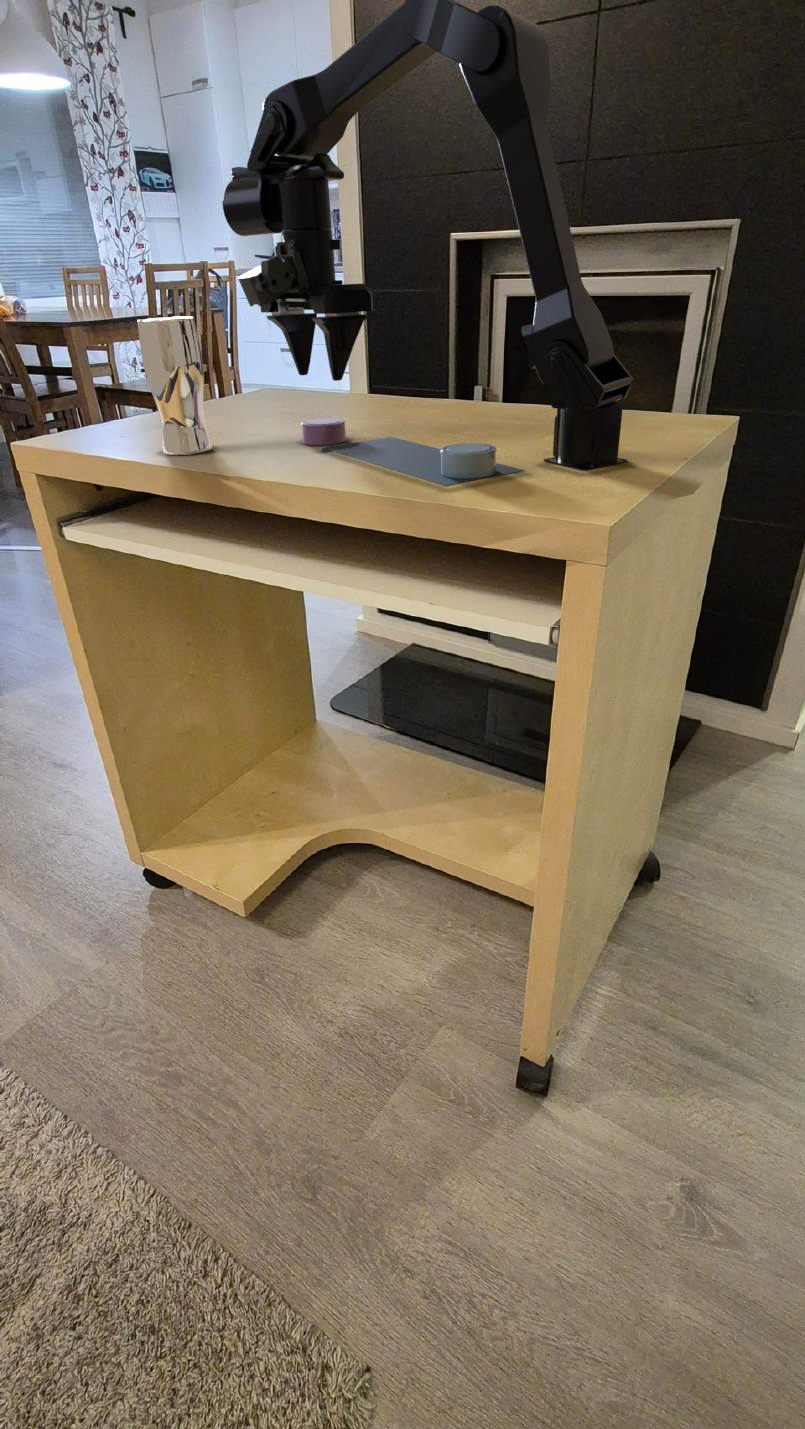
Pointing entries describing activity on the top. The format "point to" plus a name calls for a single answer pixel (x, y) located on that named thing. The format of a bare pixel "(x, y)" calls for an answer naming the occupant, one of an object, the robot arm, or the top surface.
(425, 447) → the placemat
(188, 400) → the beer glass
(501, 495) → the top surface
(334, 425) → the purple puck
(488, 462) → the grey-blue puck
